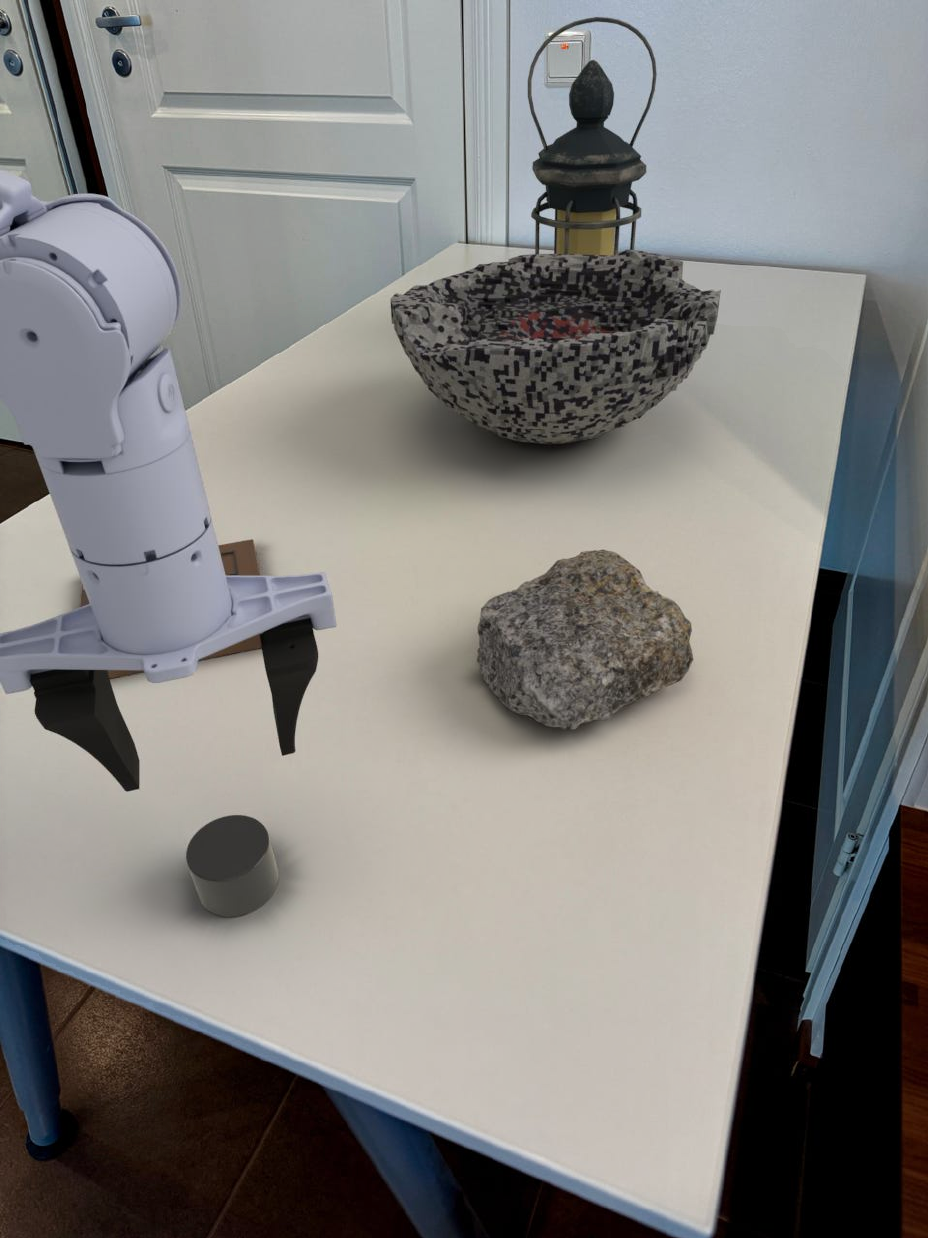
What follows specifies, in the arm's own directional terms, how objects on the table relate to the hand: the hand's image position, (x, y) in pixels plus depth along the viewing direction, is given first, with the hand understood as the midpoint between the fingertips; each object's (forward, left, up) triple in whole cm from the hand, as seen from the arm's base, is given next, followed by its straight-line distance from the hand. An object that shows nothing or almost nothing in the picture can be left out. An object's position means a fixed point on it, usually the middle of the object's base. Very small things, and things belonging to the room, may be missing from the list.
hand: (210, 758), depth 45 cm
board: (-3, +27, -9) cm, 28 cm away
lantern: (+50, +71, -9) cm, 87 cm away
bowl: (+37, +48, -9) cm, 61 cm away
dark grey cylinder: (0, -1, -9) cm, 9 cm away
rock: (+25, +10, -9) cm, 28 cm away
